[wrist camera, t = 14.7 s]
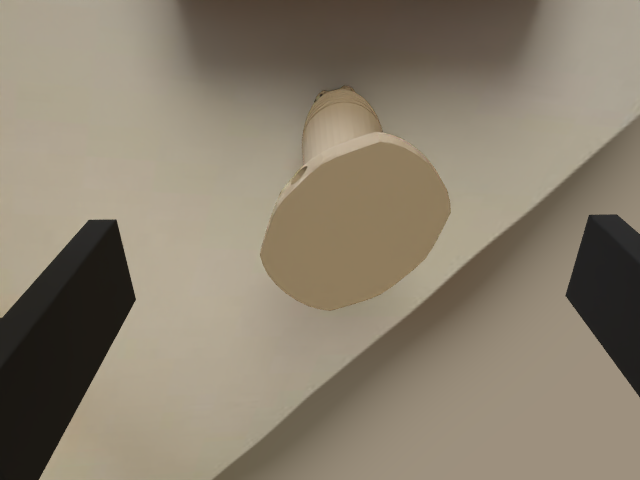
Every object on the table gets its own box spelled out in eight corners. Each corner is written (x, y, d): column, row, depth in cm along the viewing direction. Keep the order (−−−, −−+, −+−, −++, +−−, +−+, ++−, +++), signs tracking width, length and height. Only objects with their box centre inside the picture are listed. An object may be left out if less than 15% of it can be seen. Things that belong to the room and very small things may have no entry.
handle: (271, 122, 29) (230, 251, 16) (349, 39, 27) (375, 109, 14) (329, 175, 31) (335, 331, 18) (407, 101, 29) (479, 216, 15)
